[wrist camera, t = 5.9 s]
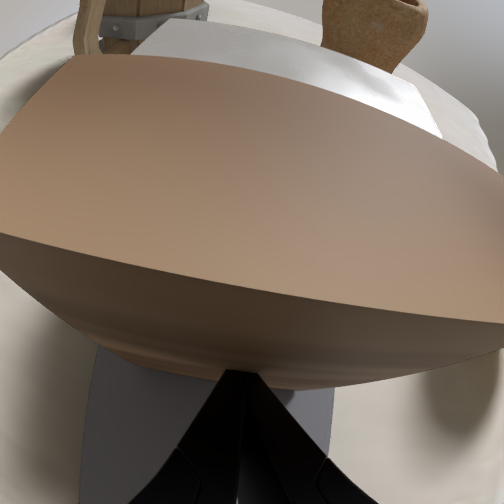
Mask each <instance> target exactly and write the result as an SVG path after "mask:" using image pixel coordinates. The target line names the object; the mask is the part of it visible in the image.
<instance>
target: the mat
mask: <svg viewBox="0 0 504 504" xmlns="http://www.w3.org/2000/svg"><path fill="white" fill-rule="evenodd" d="M216 383H217V381H211V380H205V379H199V378H193V377H188V376H183V375H178V374H173V373H168V372H163V371H159V370H154V369H150V368H145V367H141V366H137V365H133V364H131V363H130V362H128V361H126V360H124V359H123V358H121V357H119V356H118V355H116V354H114V353H113V352H111V351H109V350H108V349H106V348H104V347H103V346H101V345H100V344H99V346H98V351H97V355H96V360H95V365H94V370H93V376H92V381H91V387H90V393H89V399H88V405H87V412H86V419H85V427H84V435H83V445H82V456H81V469H80V488H79V504H127V503H128V502H129V501H130V500H131V499H132V498H133V497H134V496H135V495H136V494H137V493H138V492H139V491H140V490H141V489H142V488H143V487H144V486H145V485H146V484H147V483H148V482H149V481H150V480H151V478H152V477H153V476H154V475H155V474H156V473H157V472H158V470H159V469H160V468H161V466H162V465H163V464H164V462H165V461H166V460H167V458H168V457H169V455H170V454H171V452H172V451H173V449H174V448H176V445H177V444H178V442H179V441H180V439H181V438H182V436H183V435H184V433H185V432H186V430H187V429H188V427H189V426H190V424H191V423H192V421H193V419H194V418H195V416H196V415H197V413H198V412H199V410H200V409H201V407H202V406H203V404H204V402H205V401H206V399H207V398H208V396H209V395H210V393H211V391H212V390H213V388H214V387H215V385H216ZM270 389H271V390H272V392H273V393H274V394H275V395H276V397H277V398H278V399H279V400H280V401H281V403H282V404H283V405H284V406H285V408H286V409H287V410H288V411H289V412H290V414H291V415H292V416H293V417H294V418H295V419H296V421H297V422H298V423H299V424H300V425H301V427H302V428H303V429H304V430H305V431H306V432H307V434H308V435H309V436H310V437H311V438H312V439H313V440H314V442H315V443H316V444H317V445H318V446H319V447H320V448H321V450H322V451H323V452H324V453H325V454H326V455H327V458H328V452H329V443H330V434H331V424H332V414H333V402H334V389H335V387H333V388H324V389H315V390H305V391H297V390H284V389H273V388H270ZM236 504H238V499H237V503H236Z"/></svg>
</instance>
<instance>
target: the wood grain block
mask: <svg viewBox="0 0 504 504" xmlns="http://www.w3.org/2000/svg"><path fill="white" fill-rule="evenodd" d="M0 270H1V271H2V272H3V273H4V274H6V275H7V276H8V277H9V278H10V279H11V280H12V281H14V282H15V283H16V284H17V285H18V286H20V287H21V288H22V289H23V290H24V291H26V292H27V293H28V294H29V295H31V296H32V297H33V298H34V299H36V300H37V301H38V302H40V303H41V304H42V305H43V306H45V307H46V308H47V309H49V310H50V311H51V312H53V313H54V314H55V315H57V316H58V317H60V318H61V319H62V320H64V321H65V322H67V323H68V324H69V325H71V326H72V327H74V328H75V329H77V330H78V331H80V332H81V333H83V334H84V335H86V336H87V337H89V338H90V339H92V340H93V341H95V342H97V343H98V344H100V345H101V346H103V347H104V348H106V349H108V350H109V351H111V352H113V353H114V354H116V355H118V356H119V357H121V358H123V359H124V360H126V361H128V362H130V363H131V364H133V365H137V366H141V367H145V368H150V369H154V370H159V371H163V372H168V373H173V374H178V375H183V376H188V377H193V378H199V379H205V380H211V381H217V382H218V380H219V379H220V377H221V375H222V374H223V372H224V371H225V369H230V370H236V371H241V372H251V373H258V374H259V375H260V377H261V378H262V379H263V380H264V382H265V383H266V384H267V385H268V387H269V388H273V389H284V390H297V391H305V390H315V389H324V388H333V387H341V386H348V385H355V384H362V383H368V382H374V381H380V380H385V379H391V378H396V377H401V376H405V375H410V374H415V373H419V372H423V371H427V370H432V369H436V368H439V367H443V366H447V365H451V364H454V363H458V362H461V361H465V360H468V359H471V358H475V357H478V356H481V355H484V354H487V353H490V352H493V351H496V350H499V349H501V348H504V176H502V175H501V174H499V173H498V172H496V171H495V170H493V169H492V168H490V167H489V166H487V165H486V164H484V163H483V162H481V161H479V160H478V159H476V158H474V157H473V156H471V155H470V154H468V153H466V152H464V151H463V150H461V149H459V148H458V147H456V146H454V145H452V144H450V143H449V142H447V141H445V140H443V139H441V138H439V137H437V136H436V135H434V134H432V133H430V132H428V131H426V130H424V129H422V128H420V127H418V126H416V125H414V124H411V123H409V122H407V121H405V120H403V119H401V118H398V117H396V116H394V115H392V114H389V113H387V112H385V111H382V110H380V109H377V108H375V107H373V106H370V105H367V104H365V103H362V102H360V101H357V100H354V99H352V98H349V97H346V96H343V95H340V94H338V93H335V92H332V91H329V90H326V89H322V88H319V87H316V86H313V85H310V84H306V83H303V82H299V81H296V80H292V79H288V78H285V77H281V76H277V75H273V74H269V73H264V72H260V71H255V70H251V69H246V68H241V67H236V66H231V65H225V64H219V63H213V62H206V61H199V60H192V59H183V58H174V57H163V56H149V55H128V54H89V55H75V56H73V57H72V58H71V59H70V60H69V61H68V62H67V63H66V64H64V65H63V66H62V67H61V68H60V69H59V70H58V71H57V72H56V73H55V74H54V75H53V76H52V77H51V78H50V79H49V80H48V81H47V82H46V83H45V84H44V85H43V86H42V87H41V88H40V89H39V90H38V91H37V92H36V93H35V94H34V95H33V96H32V97H31V98H30V99H29V101H28V102H27V103H26V104H25V105H24V106H23V107H22V108H21V110H20V111H19V112H18V113H17V114H16V115H15V117H14V118H13V119H12V120H11V122H10V123H9V124H8V125H7V127H6V128H5V129H4V130H3V132H2V133H1V134H0Z"/></svg>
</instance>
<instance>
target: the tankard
mask: <svg viewBox="0 0 504 504" xmlns="http://www.w3.org/2000/svg"><path fill="white" fill-rule="evenodd" d="M208 10H209V5H208V4H207V3H206V2H205V1H204V0H80V7H79V12H78V16H77V21H76V25H75V31H74V36H73V47H74V53H75V55H89V54H128V55H130V54H131V53H132V52H133V51H134V50H135V49H136V48H137V47H138V46H139V45H140V44H141V43H143V42H144V41H145V40H146V39H147V38H148V37H149V36H150V35H151V34H152V33H154V32H155V31H156V30H157V29H158V28H159V27H160V26H162V25H163V24H164V23H165V22H166V21H168V20H169V19H170V18H176V19H188V20H198V21H207V16H208ZM98 35H99V37H103V39H101V40H100V41H98Z"/></svg>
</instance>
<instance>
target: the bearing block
mask: <svg viewBox="0 0 504 504" xmlns="http://www.w3.org/2000/svg"><path fill="white" fill-rule="evenodd" d="M130 55H149V56H163V57H174V58H183V59H192V60H199V61H206V62H213V63H219V64H225V65H231V66H236V67H241V68H246V69H251V70H255V71H260V72H264V73H269V74H273V75H277V76H281V77H285V78H288V79H292V80H296V81H299V82H303V83H306V84H310V85H313V86H316V87H319V88H322V89H326V90H329V91H332V92H335V93H338V94H340V95H343V96H346V97H349V98H352V99H354V100H357V101H360V102H362V103H365V104H367V105H370V106H373V107H375V108H377V109H380V110H382V111H385V112H387V113H389V114H392V115H394V116H396V117H398V118H401V119H403V120H405V121H407V122H409V123H411V124H414V125H416V126H418V127H420V128H422V129H424V130H426V131H428V132H430V133H432V134H434V135H436V136H437V137H439V138H441V139H443V137H442V135H441V133H440V131H439V129H438V127H437V125H436V123H435V121H434V119H433V117H432V115H431V114H430V112H429V110H428V108H427V106H426V104H425V103H424V101H423V99H422V97H421V95H420V94H419V92H418V90H417V89H416V87H415V86H414V85H412V84H410V83H408V82H406V81H404V80H402V79H400V78H398V77H396V76H394V75H392V74H390V73H387V72H385V71H383V70H381V69H379V68H376V67H374V66H372V65H369V64H367V63H364V62H362V61H359V60H357V59H354V58H352V57H349V56H346V55H344V54H341V53H338V52H335V51H332V50H329V49H326V48H323V47H320V46H317V45H314V44H311V43H307V42H304V41H300V40H297V39H293V38H290V37H286V36H282V35H278V34H274V33H269V32H265V31H260V30H256V29H251V28H246V27H240V26H234V25H228V24H222V23H215V22H207V21H198V20H188V19H176V18H170V19H169V20H168V21H166V22H165V23H164V24H163V25H162V26H160V27H159V28H158V29H157V30H156V31H155V32H154V33H152V34H151V35H150V36H149V37H148V38H147V39H146V40H145V41H144V42H143V43H141V44H140V45H139V46H138V47H137V48H136V49H135V50H134V51H133V52H132V53H131V54H130ZM443 140H444V139H443Z"/></svg>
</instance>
